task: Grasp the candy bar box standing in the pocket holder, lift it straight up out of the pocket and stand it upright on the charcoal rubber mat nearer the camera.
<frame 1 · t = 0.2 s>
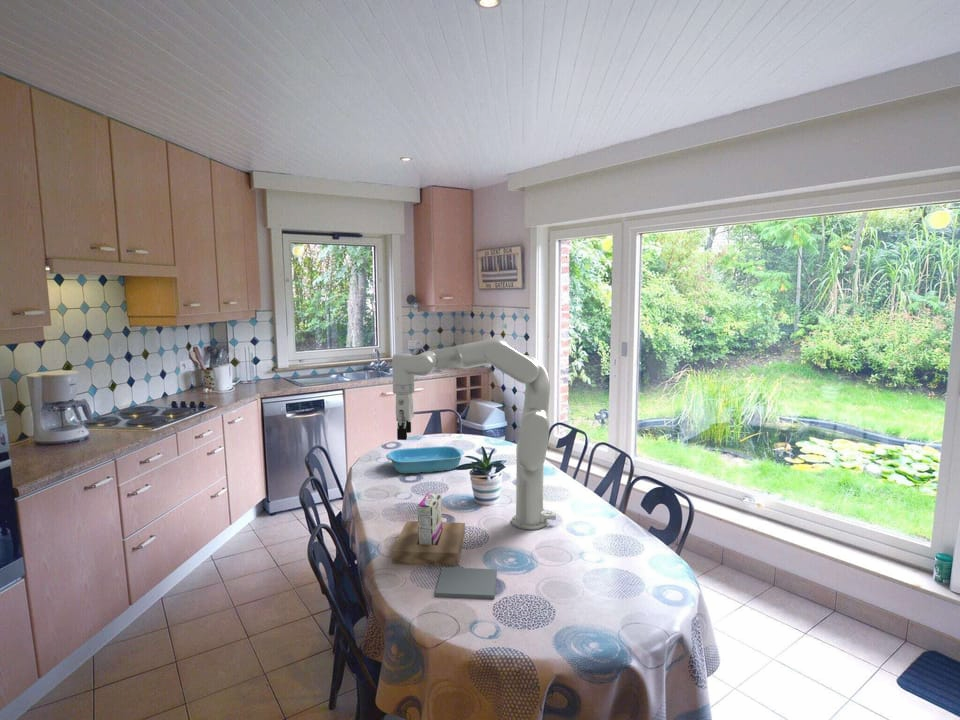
hand: (404, 436, 194), 31 cm above the table, tool pointing down, fingers open, 9 cm apart
candy bar box: (430, 548, 176), resting in pocket holder
pocket holder: (430, 547, 176), on the table
charcoal mat: (467, 583, 154), on the table
casserole dish: (425, 467, 258), on the table
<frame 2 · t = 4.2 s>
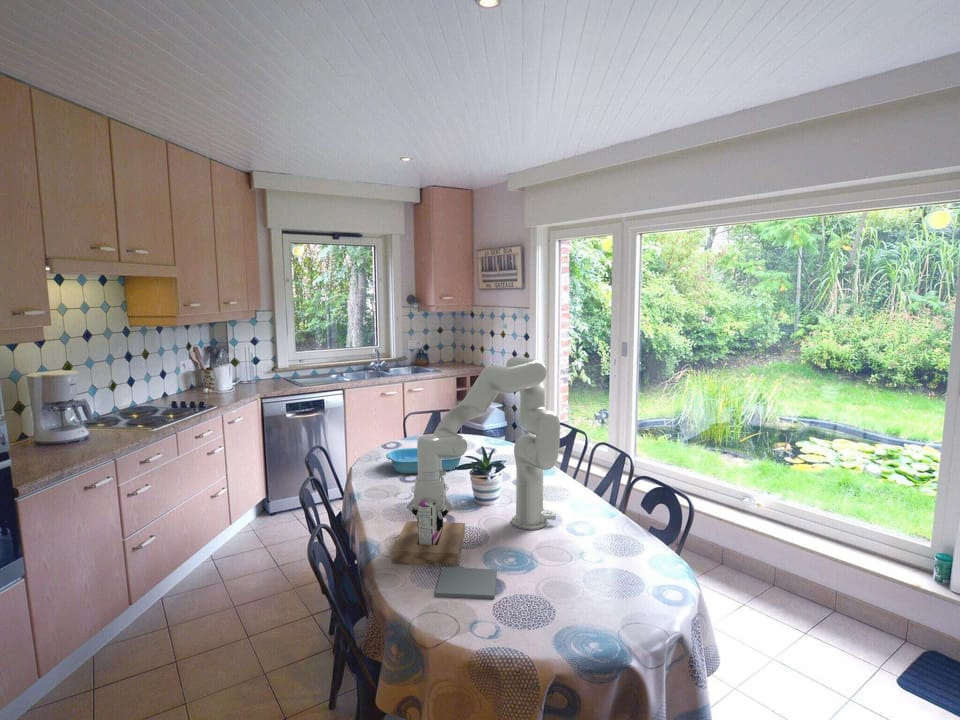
hand: (430, 528, 175), 7 cm above the table, tool pointing down, fingers closed on candy bar box, 5 cm apart
candy bar box: (430, 548, 176), resting in pocket holder, touching gripper
everything else where it was.
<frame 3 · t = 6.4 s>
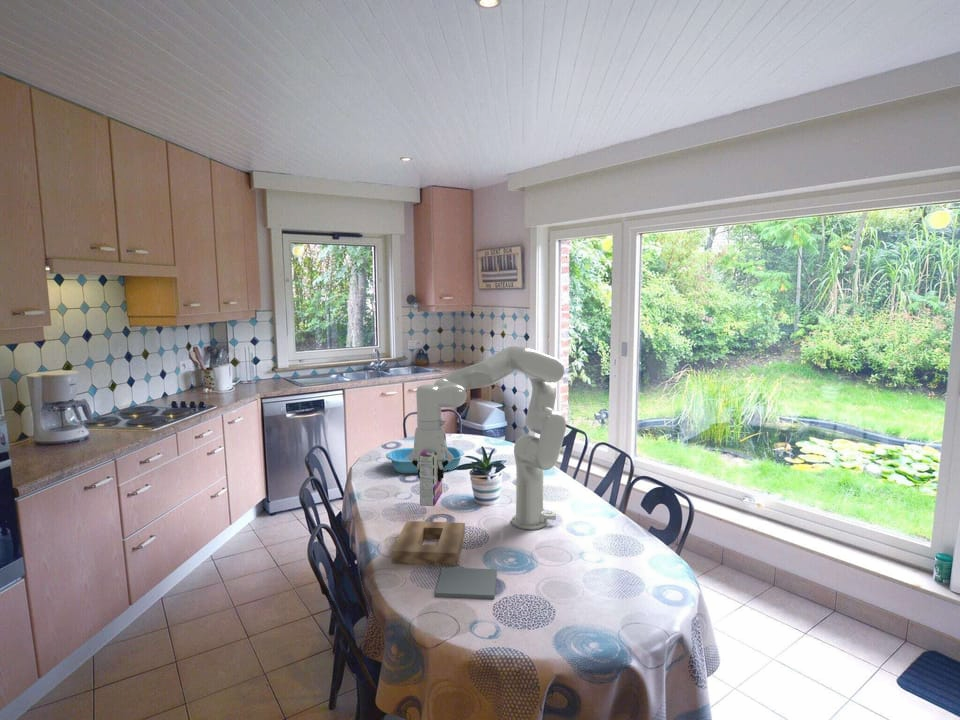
hand: (431, 479, 173), 23 cm above the table, tool pointing down, fingers closed on candy bar box, 5 cm apart
candy bar box: (430, 500, 174), point 16 cm above the table, touching gripper
everything else where it was.
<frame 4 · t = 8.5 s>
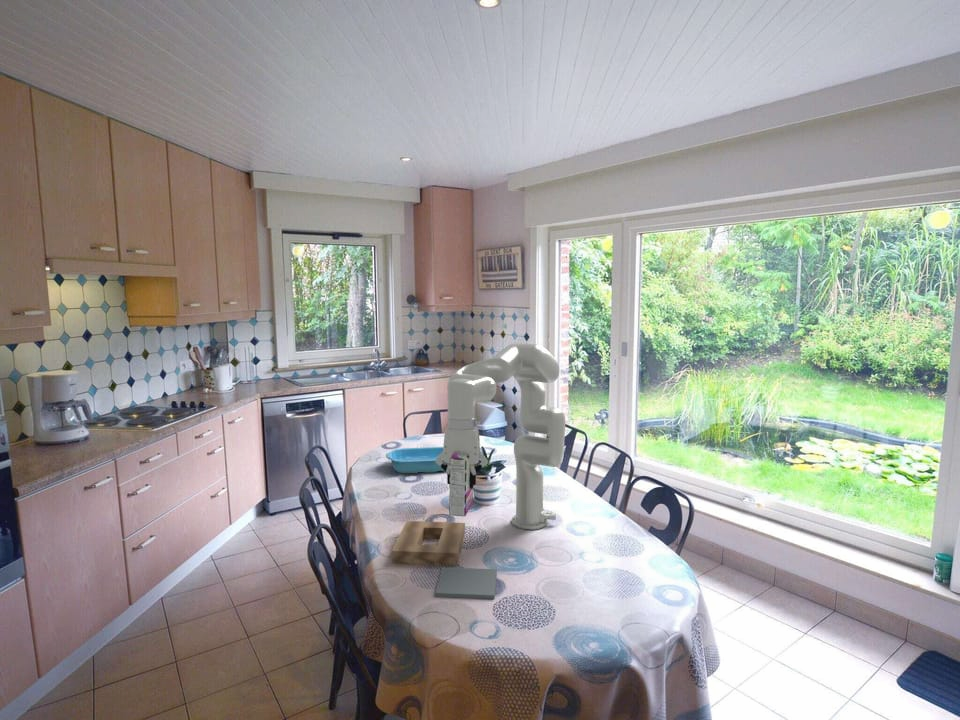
hand: (461, 486, 153), 28 cm above the table, tool pointing down, fingers closed on candy bar box, 5 cm apart
candy bar box: (460, 509, 154), point 21 cm above the table, touching gripper
everything else where it was.
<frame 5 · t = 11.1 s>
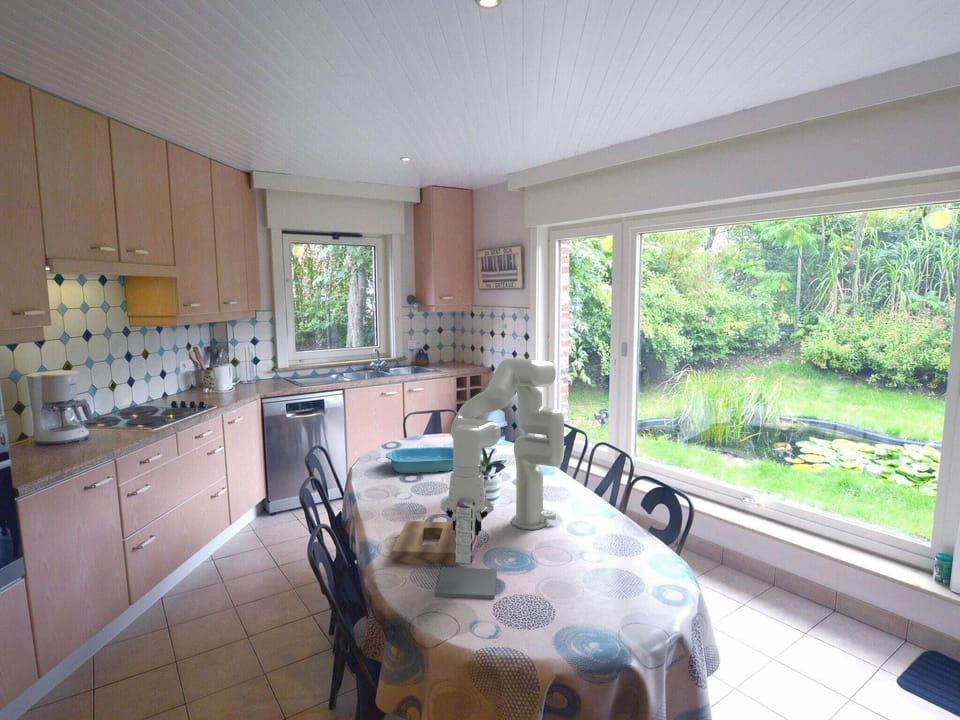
hand: (467, 532, 152), 15 cm above the table, tool pointing down, fingers closed on candy bar box, 5 cm apart
candy bar box: (466, 555, 153), point 8 cm above the table, touching gripper
everything else where it was.
when the fingers open (9 cm above the table, at t = 13.2 s): candy bar box drops 1 cm, resting on charcoal mat.
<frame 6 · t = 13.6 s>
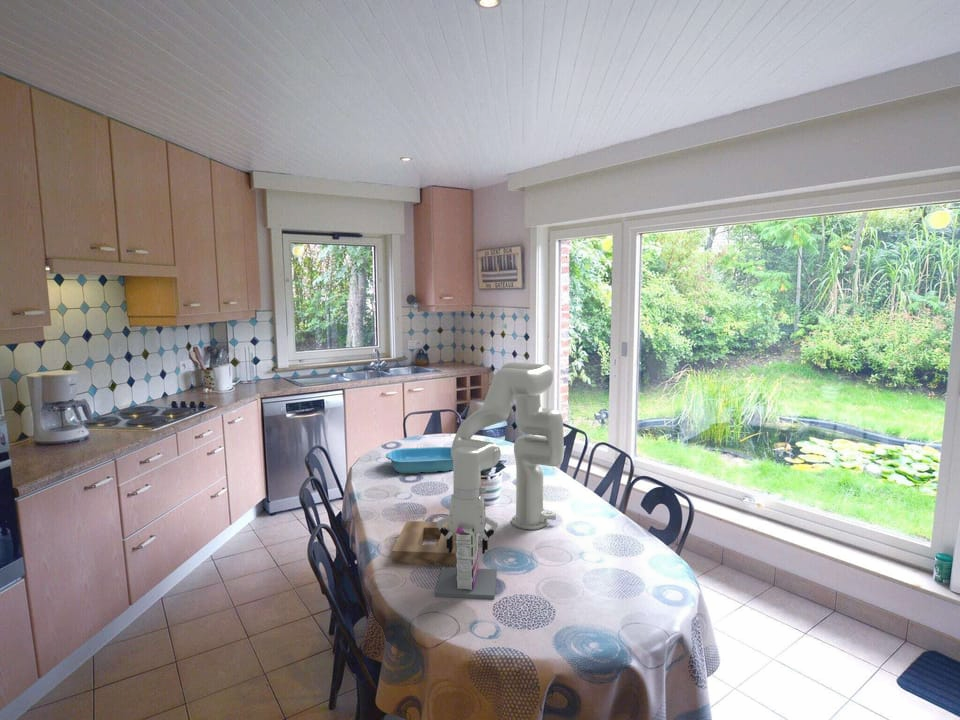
hand: (467, 551, 153), 10 cm above the table, tool pointing down, fingers open, 9 cm apart
candy bar box: (467, 580, 154), point 1 cm above the table, touching charcoal mat
everything else where it was.
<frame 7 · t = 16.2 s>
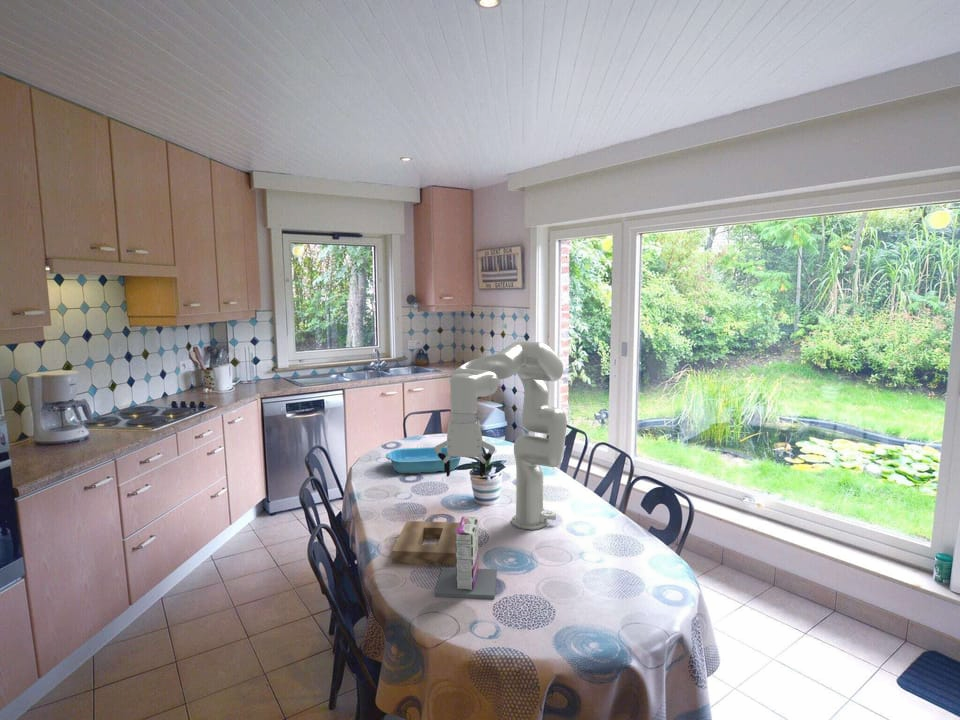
hand: (465, 475, 157), 29 cm above the table, tool pointing down, fingers open, 9 cm apart
nothing on the table moved.
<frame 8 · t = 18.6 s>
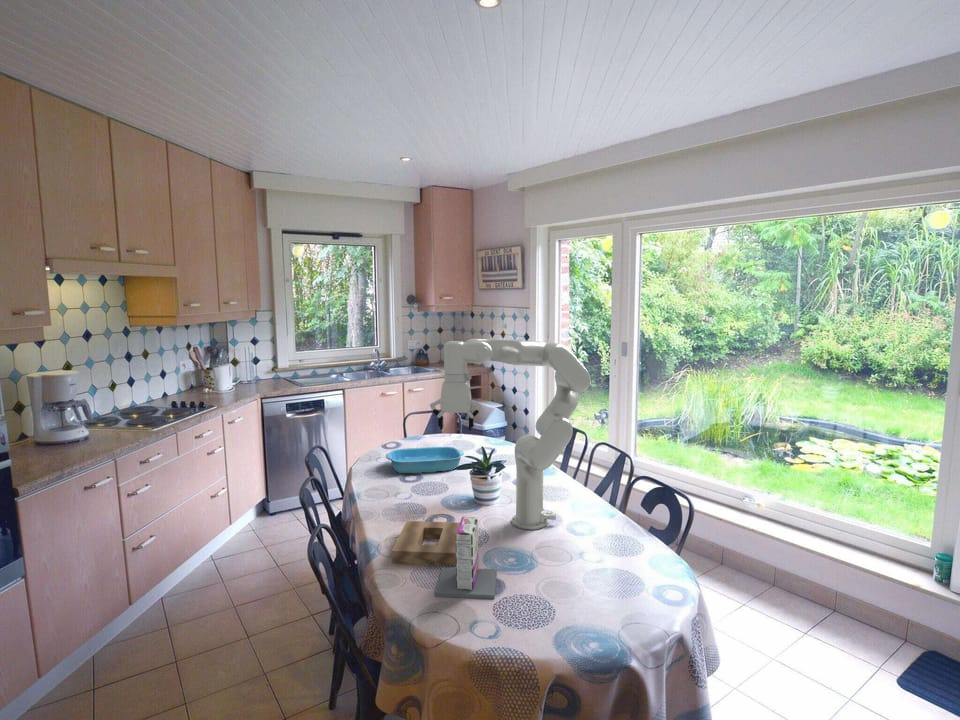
hand: (455, 428, 183), 36 cm above the table, tool pointing down, fingers open, 9 cm apart
nothing on the table moved.
at the end: candy bar box inside the target area on the charcoal mat (0.3 cm from its centre), point 0.8 cm above the charcoal mat's base; candy bar box tilted 0°; the gripper is holding nothing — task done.
